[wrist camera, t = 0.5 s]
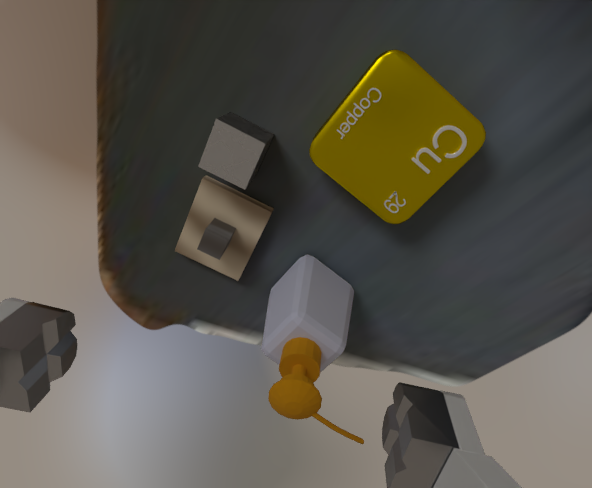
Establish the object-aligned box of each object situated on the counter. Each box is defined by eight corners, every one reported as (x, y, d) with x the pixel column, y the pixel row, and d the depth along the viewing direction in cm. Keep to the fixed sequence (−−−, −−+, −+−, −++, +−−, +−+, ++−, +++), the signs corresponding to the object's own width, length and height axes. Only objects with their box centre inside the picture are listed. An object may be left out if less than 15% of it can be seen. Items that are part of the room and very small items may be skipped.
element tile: (388, 41, 44) (393, 39, 40) (483, 128, 47) (496, 136, 42) (305, 146, 50) (301, 155, 46) (393, 218, 53) (397, 233, 49)
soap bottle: (337, 341, 62) (333, 477, 42) (267, 290, 59) (226, 408, 40) (380, 303, 58) (397, 432, 38) (306, 247, 56) (284, 354, 36)
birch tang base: (206, 175, 53) (191, 187, 48) (273, 208, 54) (266, 224, 49) (178, 246, 58) (162, 263, 53) (240, 275, 59) (231, 296, 54)
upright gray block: (230, 111, 49) (216, 118, 44) (274, 134, 49) (265, 143, 44) (213, 155, 51) (198, 166, 46) (255, 176, 52) (245, 189, 47)
